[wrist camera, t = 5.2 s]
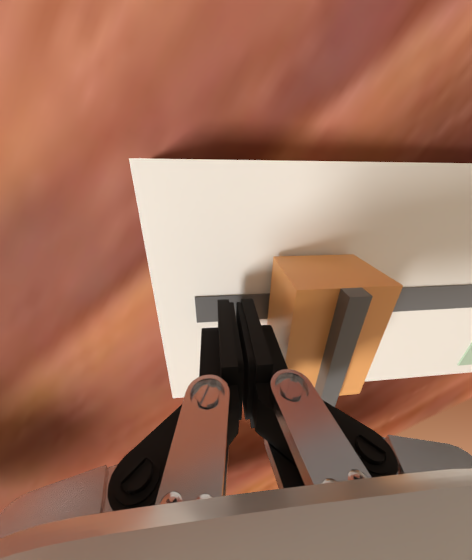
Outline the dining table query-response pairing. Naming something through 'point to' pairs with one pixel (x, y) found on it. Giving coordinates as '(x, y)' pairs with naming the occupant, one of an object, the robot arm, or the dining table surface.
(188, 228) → the fader console
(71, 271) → the dining table surface
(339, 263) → the fader knob
